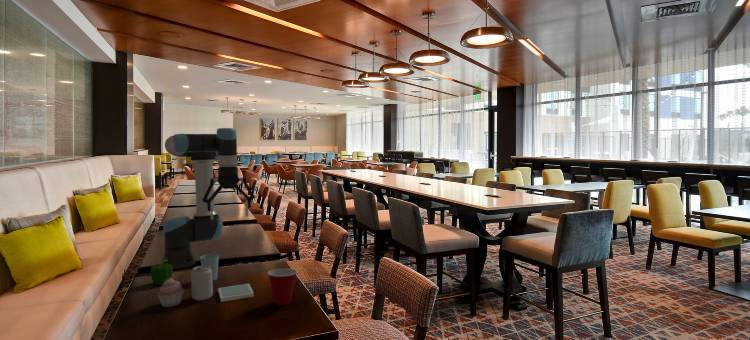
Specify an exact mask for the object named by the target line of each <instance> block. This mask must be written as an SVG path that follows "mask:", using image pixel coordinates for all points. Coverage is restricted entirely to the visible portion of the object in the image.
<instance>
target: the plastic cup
mask: <svg viewBox="0 0 750 340" xmlns="http://www.w3.org/2000/svg"><path fill="white" fill-rule="evenodd" d="M297 273H298V270H296V269H293V268H277V269H276V268H274V269H271V270H268V271H267V275H268V277H269V282H270V286H271V292H272V296H273V300H274V304H275V305H276V306H287V305H290V304H291V303H292V297H293V291H294V284H295V279H296V276H297Z"/></svg>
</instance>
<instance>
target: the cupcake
mask: <svg viewBox="0 0 750 340" xmlns="http://www.w3.org/2000/svg"><path fill="white" fill-rule="evenodd" d="M184 293H185V288H183V286H182V284H181V283H180V281H178V280H174V279H173V278H172V277H171V278H169V279H168V280H166V281H165V282H164V283H163V285H160V288H159V291H157V294H156V296H157V297H158V299H159V301H160V304H161V306H162V307H163V308H173V307H176V306H179V305H181V303H182V300H183V299H182V297H183V294H184Z"/></svg>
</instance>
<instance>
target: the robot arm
mask: <svg viewBox="0 0 750 340" xmlns="http://www.w3.org/2000/svg"><path fill="white" fill-rule="evenodd" d="M237 138H238V136H237V130H236V129H235V128H232V127H220V128H217V129H216V133H175V134H173V135H171V136H169V137H167V138H166V140H165V141H164V148H165V150H166V152H167V153H168V154H169V155H171V156H174V157H179V158H190V162H191V163H192V164H193V165H194V180H195V181H194V183H195V204H196V205H195V206H196V211H195V212H194V214H193V218H190V216H187V215H186V216H177V217H173V218H171V219H167V220H165V222H164V223H163V244H164V245H163V246H164V247H163V248H164V251H163V255H162V257H161V258H162V259H161V262H162V261H163V260H168V262H164V263H163V264H165V263H168V264H171V265H172V267H173V270H178V269H185V268H189V267H191V266H194V265H196V258H195V255H194V253H193V250H192V246H191V243H196V242H203V241H212V240H217V239H219V238H220V236H221V235H222V231H223V217H222V216H220V215H219V212H217V210H216V208H215V198H216V196H218V194H219V193H220V192H221V190H223V189H224V190H228V189H229V190H231V189H232V190H234V189H236V190H237V191H238V192H239V194H241V195H242V196H243V197H244V198H245V199H246V200H245V201H244V202H245V203H244V204H245V205H244V206H245V207H244V210H245V217H246V218H248V217H249V209H251V207H252V205H251V202H252V200H254V199H256V196H255V195H254V193H253V191H252V189H251V188H250V186H249V184H248V183H247V178H246V177H245V176H243V177H239V172H238V170H239V168H238V166H237V165H238V146H237V145H238V143H237V142H238V141H237ZM216 158H217V166H218V168H217V173H218V174H217V175H218V177H217V178H214V166H213V164H214V163H215V161H216ZM239 182H241V184H242V183H243V186H244V188H246V191H247V192H248V194H249V195H250V196H249V195H248V194H247V193H245V191H244V190H243V189H242V188H241V187H240V186H239V185H238V183H239ZM216 183H218V184H219V186H218V187H217V188H216V190H215V189H214V188H215V187H214V186H215V184H216ZM161 262H160V263H161Z"/></svg>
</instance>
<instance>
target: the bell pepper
mask: <svg viewBox="0 0 750 340" xmlns="http://www.w3.org/2000/svg"><path fill="white" fill-rule="evenodd" d="M161 261H162V260H161ZM164 262H168V260H163V261H162V262H160V264H159V263H158V264H157V263H156V264H155V265H153V266H151V268H150V276H151V280H152V283H154V284H155V285H157V286H163V283H164V282H165V281H166V280H168V279H169V278H172V276H173V271H174V269H173V267H172V265H171V264H168V263H165V264H163V263H164Z"/></svg>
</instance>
